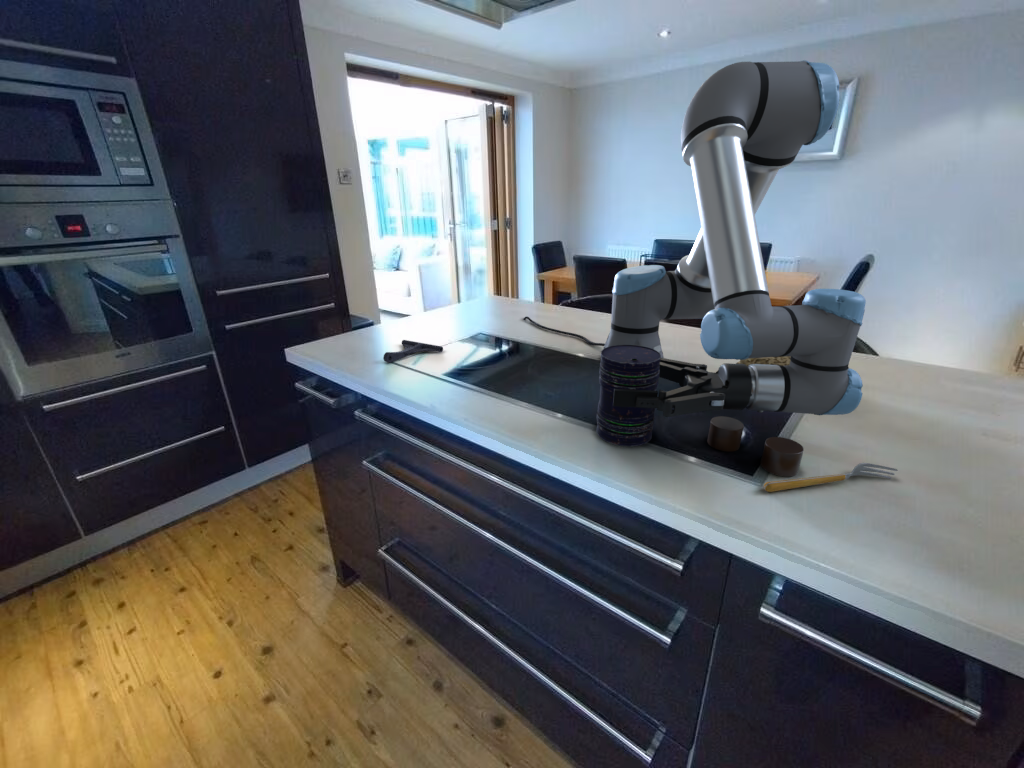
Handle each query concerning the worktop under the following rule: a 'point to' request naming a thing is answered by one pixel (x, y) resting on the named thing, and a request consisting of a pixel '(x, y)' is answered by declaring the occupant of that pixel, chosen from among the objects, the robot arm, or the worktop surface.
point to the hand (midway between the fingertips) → (612, 380)
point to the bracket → (410, 350)
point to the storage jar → (626, 372)
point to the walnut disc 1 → (725, 433)
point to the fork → (827, 478)
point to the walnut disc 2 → (781, 456)
